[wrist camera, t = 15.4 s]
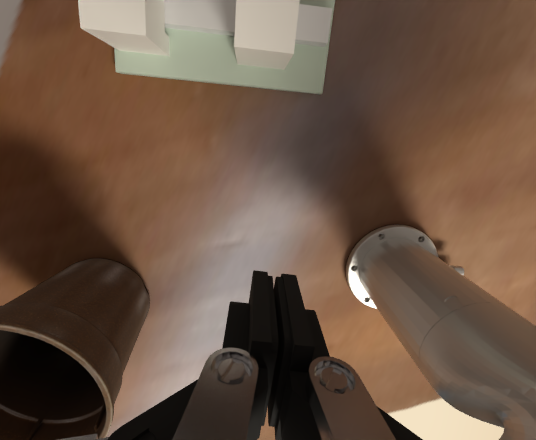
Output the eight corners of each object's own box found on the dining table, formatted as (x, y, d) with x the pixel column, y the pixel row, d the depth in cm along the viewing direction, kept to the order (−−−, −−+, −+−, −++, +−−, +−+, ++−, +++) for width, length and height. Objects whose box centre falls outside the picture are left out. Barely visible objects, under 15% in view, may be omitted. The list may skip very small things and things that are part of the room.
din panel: (337, -34, 29) (368, -92, 21) (320, 94, 33) (341, 84, 25) (111, -67, 27) (56, -143, 20) (119, 73, 31) (76, 55, 23)
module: (293, -28, 28) (307, -76, 21) (284, 69, 31) (293, 53, 24) (242, -35, 28) (240, -87, 21) (237, 64, 30) (233, 46, 24)
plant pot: (32, 329, 40) (-103, 455, 25) (48, 225, 36) (-105, 301, 20) (149, 356, 43) (93, 486, 27) (177, 263, 38) (129, 355, 23)
